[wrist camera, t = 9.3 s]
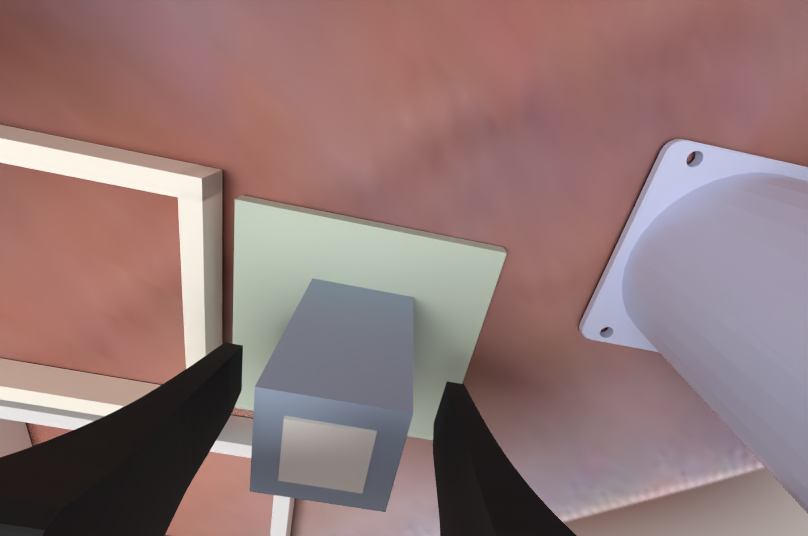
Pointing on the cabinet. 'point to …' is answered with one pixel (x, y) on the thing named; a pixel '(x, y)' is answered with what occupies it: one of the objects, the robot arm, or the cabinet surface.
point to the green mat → (362, 267)
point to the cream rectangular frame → (197, 249)
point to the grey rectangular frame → (7, 431)
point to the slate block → (336, 398)
